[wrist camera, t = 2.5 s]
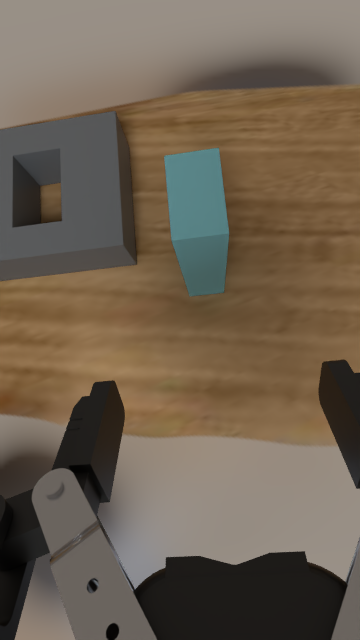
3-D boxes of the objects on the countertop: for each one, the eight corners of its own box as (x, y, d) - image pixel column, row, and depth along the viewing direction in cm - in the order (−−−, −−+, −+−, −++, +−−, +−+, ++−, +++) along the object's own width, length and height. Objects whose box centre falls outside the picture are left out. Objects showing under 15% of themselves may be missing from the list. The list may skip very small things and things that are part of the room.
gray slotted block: (129, 147, 32) (115, 110, 28) (136, 264, 30) (123, 244, 26) (-7, 168, 34) (-40, 136, 29) (-9, 282, 32) (-45, 266, 27)
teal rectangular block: (217, 238, 30) (218, 147, 18) (224, 292, 29) (229, 233, 17) (184, 242, 30) (164, 155, 18) (189, 296, 29) (171, 240, 18)
